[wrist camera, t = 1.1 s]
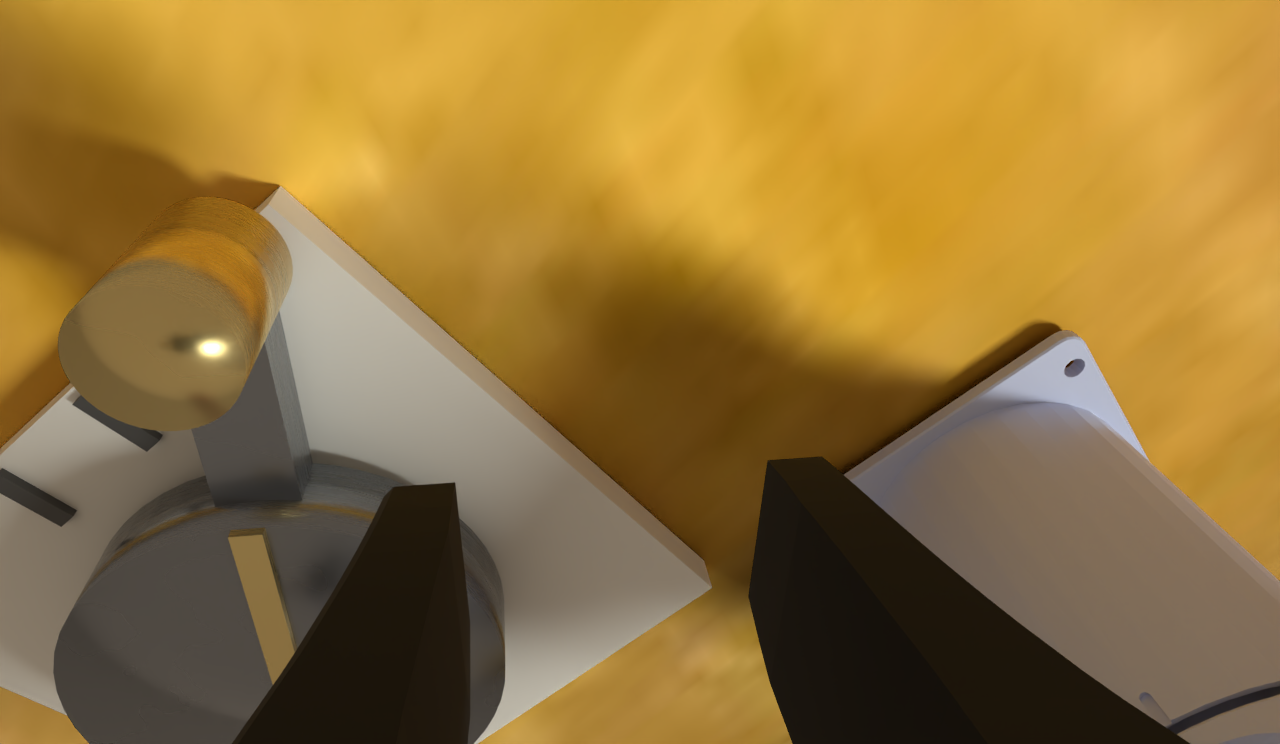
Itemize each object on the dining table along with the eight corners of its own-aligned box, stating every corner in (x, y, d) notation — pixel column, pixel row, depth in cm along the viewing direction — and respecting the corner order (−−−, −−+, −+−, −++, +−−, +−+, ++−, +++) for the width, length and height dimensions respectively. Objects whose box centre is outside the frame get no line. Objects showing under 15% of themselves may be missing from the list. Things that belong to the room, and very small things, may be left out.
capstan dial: (513, 715, 22) (516, 844, 20) (156, 755, 21) (102, 900, 18) (473, 191, 15) (469, 274, 12) (-91, 202, 13) (-252, 299, 11)
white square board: (704, 560, 23) (714, 593, 22) (345, 802, 26) (339, 840, 25) (280, 185, 16) (265, 208, 15) (-140, 579, 19) (-175, 620, 18)
